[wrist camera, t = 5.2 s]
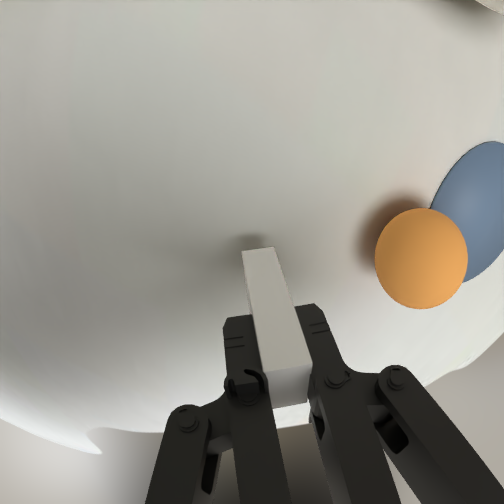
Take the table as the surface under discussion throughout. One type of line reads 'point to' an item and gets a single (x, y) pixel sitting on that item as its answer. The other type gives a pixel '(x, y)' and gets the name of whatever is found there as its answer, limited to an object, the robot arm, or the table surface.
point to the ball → (421, 258)
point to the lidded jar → (494, 5)
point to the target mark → (476, 204)
